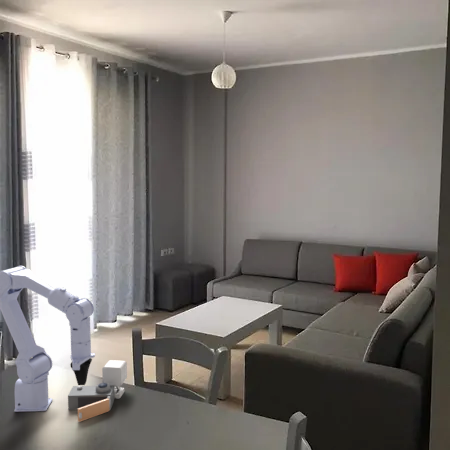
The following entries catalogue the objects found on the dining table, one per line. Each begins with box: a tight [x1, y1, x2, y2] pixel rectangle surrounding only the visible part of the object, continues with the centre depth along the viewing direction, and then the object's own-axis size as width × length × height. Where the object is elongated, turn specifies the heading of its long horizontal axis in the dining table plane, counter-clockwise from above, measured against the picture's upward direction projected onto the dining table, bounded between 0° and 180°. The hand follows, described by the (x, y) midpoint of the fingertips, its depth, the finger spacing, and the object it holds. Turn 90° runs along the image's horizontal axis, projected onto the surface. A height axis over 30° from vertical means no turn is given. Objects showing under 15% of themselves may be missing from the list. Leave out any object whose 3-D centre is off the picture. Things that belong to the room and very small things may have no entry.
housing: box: [67, 382, 116, 411], centre depth 163 cm, size 13×7×6 cm, turn 93°
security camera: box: [101, 359, 128, 399], centre depth 171 cm, size 6×7×10 cm
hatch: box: [77, 396, 112, 423], centre depth 156 cm, size 11×2×4 cm, turn 133°
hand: (81, 384), depth 156 cm, fingers closed
